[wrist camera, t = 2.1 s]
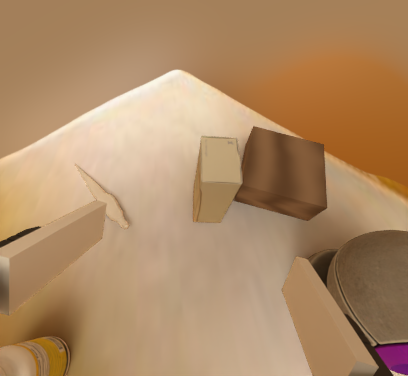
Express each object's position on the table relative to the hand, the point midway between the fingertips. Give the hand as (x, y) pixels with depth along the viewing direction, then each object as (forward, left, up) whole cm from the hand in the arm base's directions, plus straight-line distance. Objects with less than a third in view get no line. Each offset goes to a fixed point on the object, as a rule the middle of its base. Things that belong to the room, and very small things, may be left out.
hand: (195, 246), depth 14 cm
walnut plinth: (-10, -19, -15) cm, 26 cm away
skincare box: (0, -11, -16) cm, 19 cm away
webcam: (-21, -3, -16) cm, 26 cm away
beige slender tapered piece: (+16, -7, -16) cm, 24 cm away
